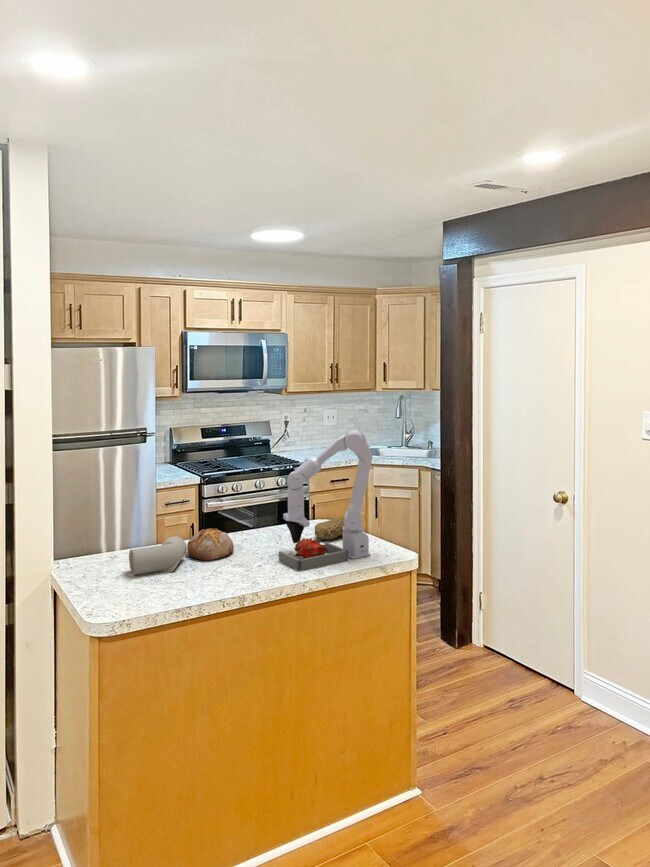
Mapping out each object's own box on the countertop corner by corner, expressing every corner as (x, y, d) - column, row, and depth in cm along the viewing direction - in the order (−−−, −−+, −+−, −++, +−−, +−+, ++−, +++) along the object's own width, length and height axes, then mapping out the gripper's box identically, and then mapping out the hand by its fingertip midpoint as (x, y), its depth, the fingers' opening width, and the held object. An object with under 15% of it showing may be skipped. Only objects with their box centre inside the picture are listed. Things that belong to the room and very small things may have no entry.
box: (348, 560, 242) (348, 550, 242) (298, 571, 231) (298, 560, 231) (326, 551, 253) (326, 542, 252) (278, 561, 242) (278, 551, 241)
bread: (187, 566, 241) (184, 538, 240) (189, 549, 260) (186, 523, 259) (235, 560, 243) (232, 532, 242) (233, 544, 263) (231, 518, 261)
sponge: (347, 532, 284) (303, 528, 274) (352, 514, 282) (308, 509, 273) (363, 546, 272) (317, 542, 263) (368, 527, 271) (323, 523, 261)
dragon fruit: (291, 563, 244) (325, 568, 244) (292, 555, 237) (327, 560, 237) (295, 540, 248) (329, 545, 248) (296, 532, 241) (330, 537, 241)
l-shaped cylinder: (180, 574, 225) (193, 555, 245) (172, 543, 224) (185, 527, 244) (127, 586, 226) (144, 566, 246) (118, 555, 225) (136, 538, 245)
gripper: (275, 502, 252) (276, 539, 254) (297, 510, 241) (297, 549, 242) (292, 500, 256) (292, 536, 258) (314, 507, 245) (314, 545, 246)
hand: (296, 542), depth 250 cm, fingers closed
